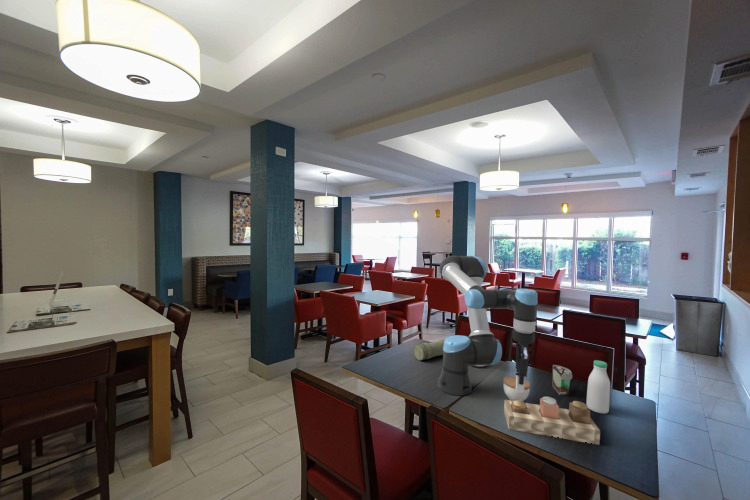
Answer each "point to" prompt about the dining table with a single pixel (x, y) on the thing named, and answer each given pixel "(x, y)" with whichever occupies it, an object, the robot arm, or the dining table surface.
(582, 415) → the right button
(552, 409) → the middle button
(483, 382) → the dining table surface
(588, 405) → the milk bottle
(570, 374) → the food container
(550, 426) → the button mount
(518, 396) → the lidded jar
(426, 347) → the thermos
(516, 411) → the left button
